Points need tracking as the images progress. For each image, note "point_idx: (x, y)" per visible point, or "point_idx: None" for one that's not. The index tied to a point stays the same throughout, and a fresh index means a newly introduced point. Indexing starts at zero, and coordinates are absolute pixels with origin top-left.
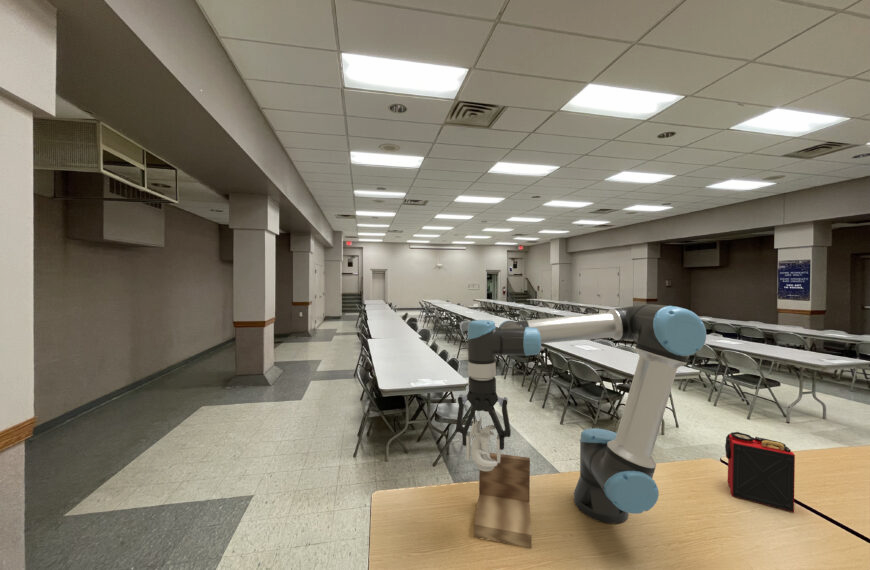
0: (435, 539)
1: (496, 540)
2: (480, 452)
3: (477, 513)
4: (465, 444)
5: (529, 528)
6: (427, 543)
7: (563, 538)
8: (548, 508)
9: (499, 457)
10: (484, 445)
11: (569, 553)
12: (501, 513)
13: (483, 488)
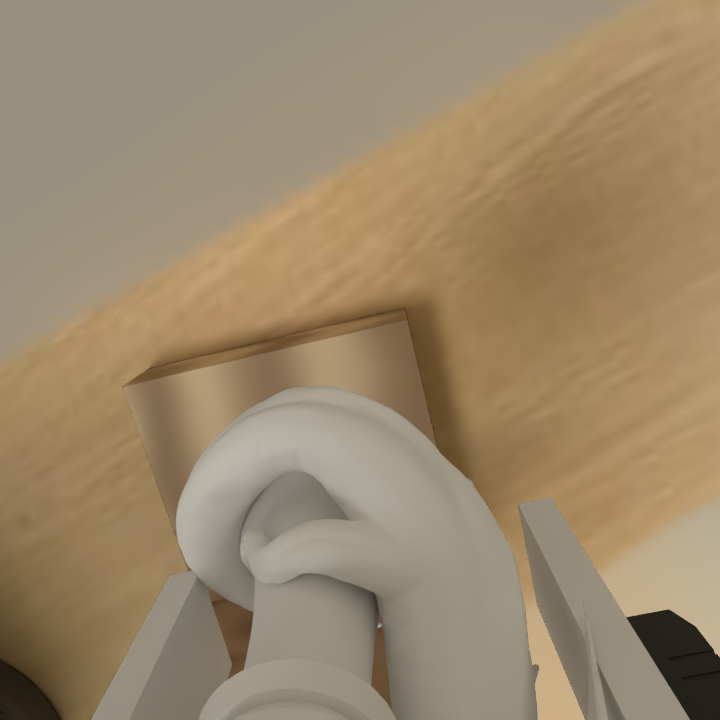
0: (579, 202)
1: (298, 334)
2: (344, 529)
3: (418, 405)
4: (644, 633)
5: (144, 424)
6: (607, 157)
7: (46, 486)
8: None
9: (149, 617)
10: (288, 650)
11: (3, 415)
12: None
13: None
